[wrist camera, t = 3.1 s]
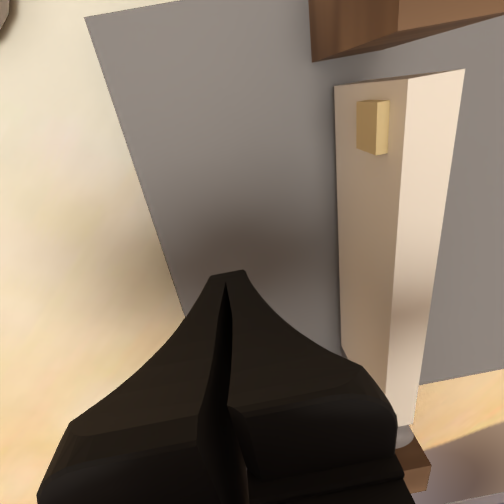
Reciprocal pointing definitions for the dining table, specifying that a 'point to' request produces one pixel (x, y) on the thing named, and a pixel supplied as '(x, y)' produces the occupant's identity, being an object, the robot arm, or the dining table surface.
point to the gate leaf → (392, 222)
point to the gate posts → (379, 38)
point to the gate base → (299, 161)
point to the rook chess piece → (3, 11)
